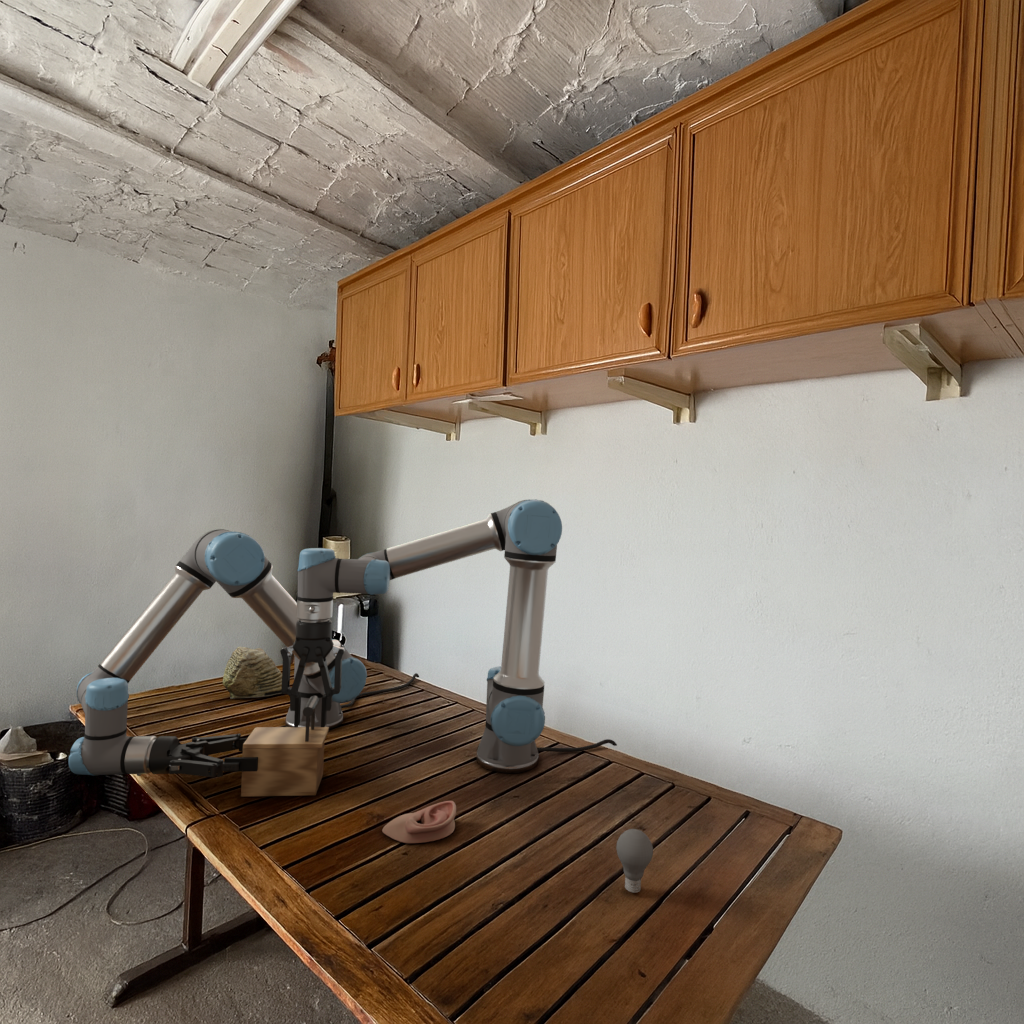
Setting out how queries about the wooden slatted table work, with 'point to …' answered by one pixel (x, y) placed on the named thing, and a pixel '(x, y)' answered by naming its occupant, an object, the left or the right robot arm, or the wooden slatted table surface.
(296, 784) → the chest
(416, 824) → the anatomical model
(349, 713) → the wooden slatted table surface
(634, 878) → the light bulb
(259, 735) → the lid
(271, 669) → the fossil
